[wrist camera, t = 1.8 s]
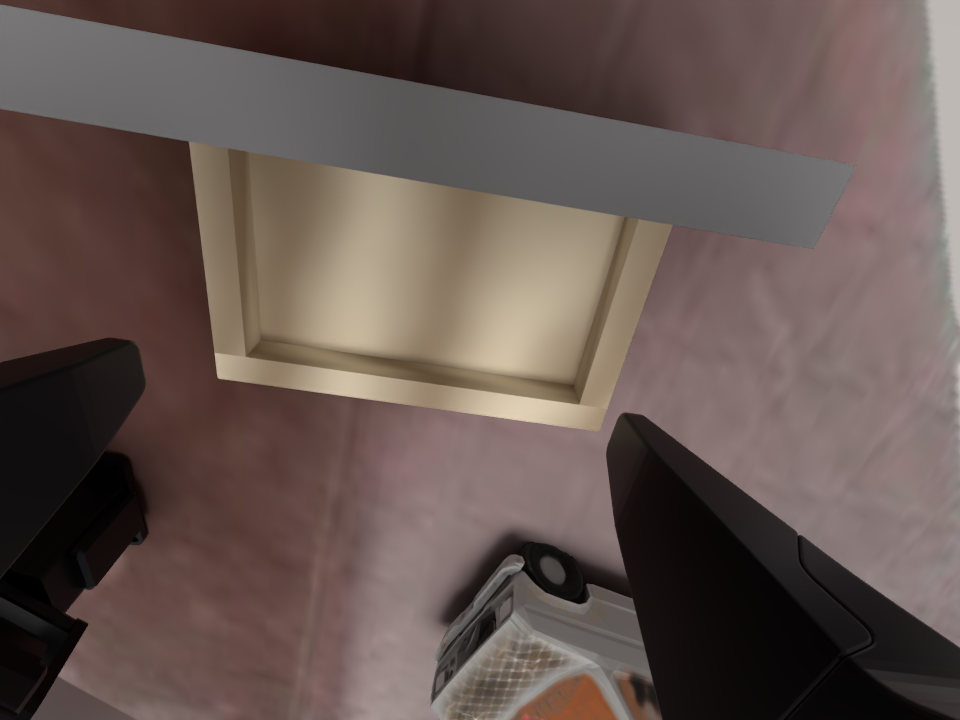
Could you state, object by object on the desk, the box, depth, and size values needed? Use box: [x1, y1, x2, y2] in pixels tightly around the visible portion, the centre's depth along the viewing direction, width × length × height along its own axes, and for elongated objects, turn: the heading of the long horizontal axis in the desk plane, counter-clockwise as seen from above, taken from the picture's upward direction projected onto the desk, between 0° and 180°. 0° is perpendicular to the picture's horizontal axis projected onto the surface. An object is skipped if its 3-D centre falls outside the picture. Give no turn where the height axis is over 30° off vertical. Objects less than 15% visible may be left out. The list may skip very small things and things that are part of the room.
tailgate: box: [0, 4, 857, 250], centre depth 12 cm, size 16×2×8 cm, turn 81°
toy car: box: [431, 542, 662, 720], centre depth 29 cm, size 11×25×10 cm, turn 62°
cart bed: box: [189, 142, 673, 431], centre depth 19 cm, size 16×10×3 cm, turn 81°
